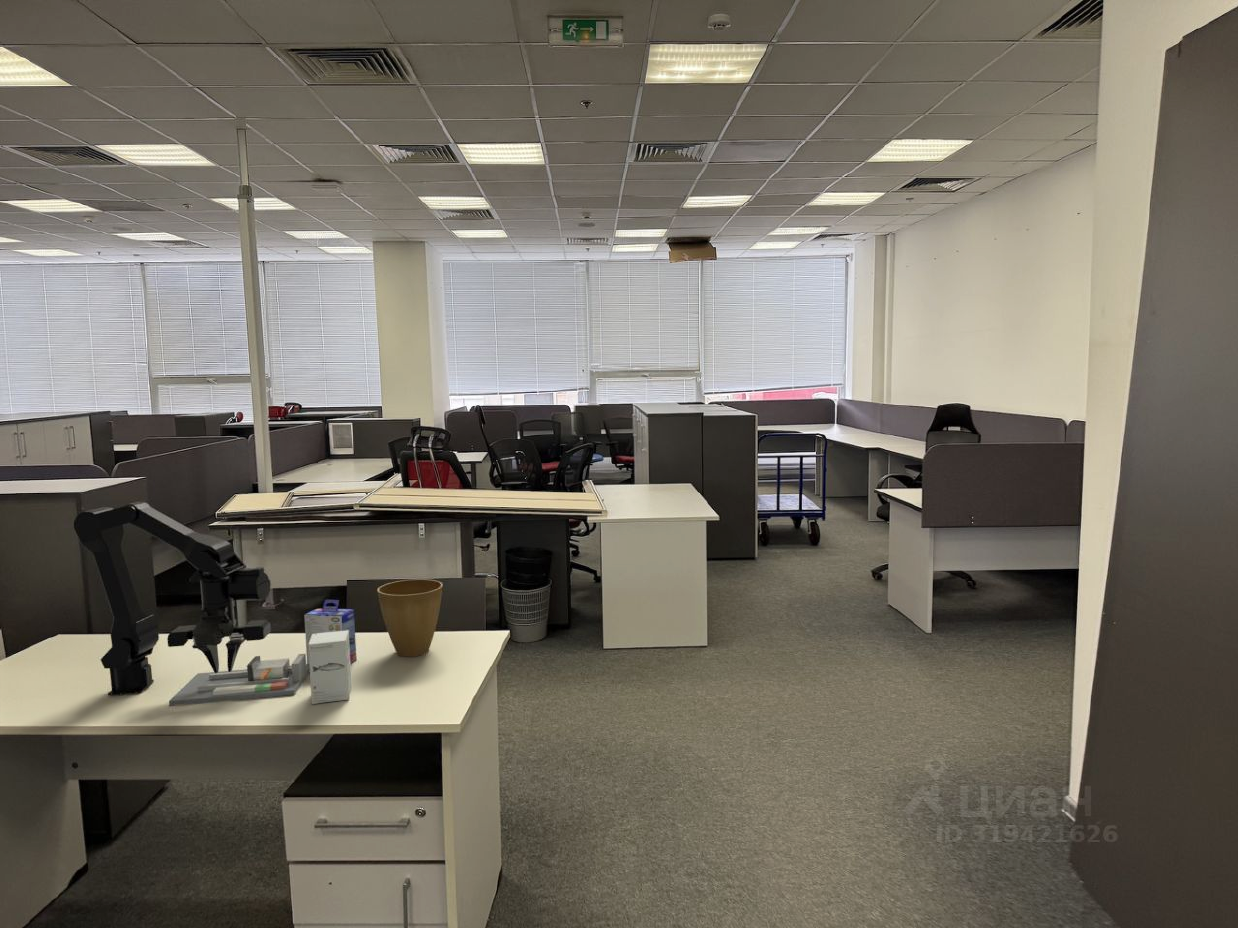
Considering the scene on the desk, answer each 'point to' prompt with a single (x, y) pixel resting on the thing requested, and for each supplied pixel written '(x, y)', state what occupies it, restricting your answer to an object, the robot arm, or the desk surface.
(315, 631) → the ink cartridge box
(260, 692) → the board
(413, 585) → the plant pot
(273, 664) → the grey block
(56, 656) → the desk surface
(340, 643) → the supplement box
